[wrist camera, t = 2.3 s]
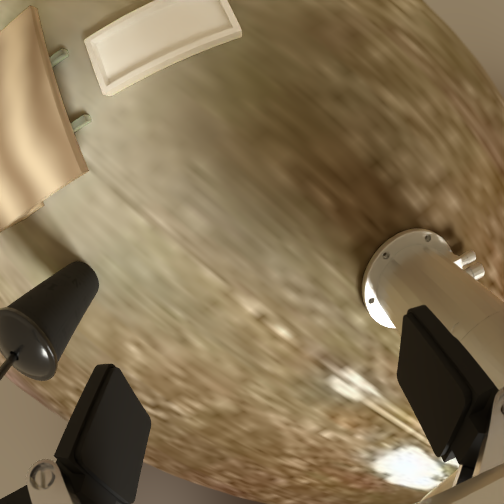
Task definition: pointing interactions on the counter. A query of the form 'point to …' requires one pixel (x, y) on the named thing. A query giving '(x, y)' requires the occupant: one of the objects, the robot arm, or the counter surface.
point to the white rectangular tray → (157, 39)
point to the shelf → (33, 122)
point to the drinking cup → (45, 321)
